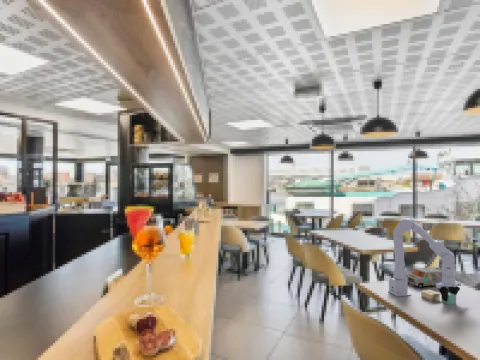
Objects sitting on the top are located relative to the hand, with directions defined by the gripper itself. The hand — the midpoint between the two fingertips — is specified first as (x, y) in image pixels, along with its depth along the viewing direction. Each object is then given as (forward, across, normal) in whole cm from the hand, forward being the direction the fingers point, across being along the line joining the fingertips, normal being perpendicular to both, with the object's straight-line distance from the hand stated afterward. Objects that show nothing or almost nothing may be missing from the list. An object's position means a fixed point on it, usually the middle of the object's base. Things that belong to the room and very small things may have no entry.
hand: (448, 300), depth 153 cm
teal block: (+1, 0, 0) cm, 1 cm away
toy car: (+2, +13, +25) cm, 29 cm away
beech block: (+2, -5, +6) cm, 8 cm away
